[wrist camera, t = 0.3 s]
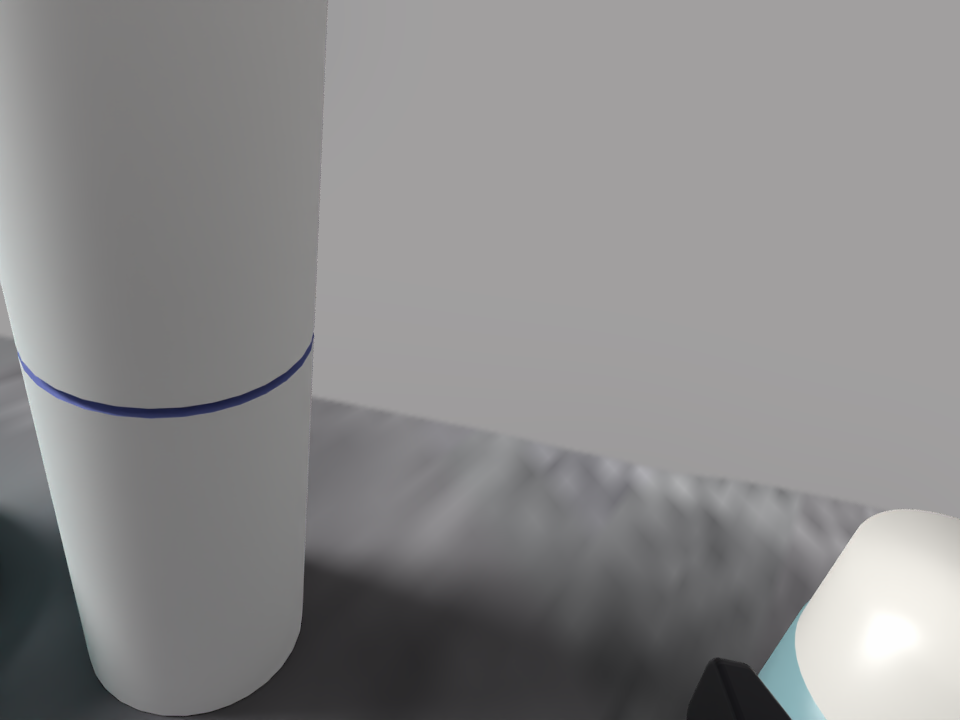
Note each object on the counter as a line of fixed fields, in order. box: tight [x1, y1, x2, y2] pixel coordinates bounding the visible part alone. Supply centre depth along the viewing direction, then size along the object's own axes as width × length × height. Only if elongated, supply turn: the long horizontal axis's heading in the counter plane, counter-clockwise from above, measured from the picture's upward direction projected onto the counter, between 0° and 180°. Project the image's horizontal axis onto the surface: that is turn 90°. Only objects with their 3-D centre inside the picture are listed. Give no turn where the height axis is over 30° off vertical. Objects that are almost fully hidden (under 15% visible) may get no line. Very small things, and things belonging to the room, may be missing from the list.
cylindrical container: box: [0, 0, 328, 716], centre depth 19 cm, size 7×7×25 cm
